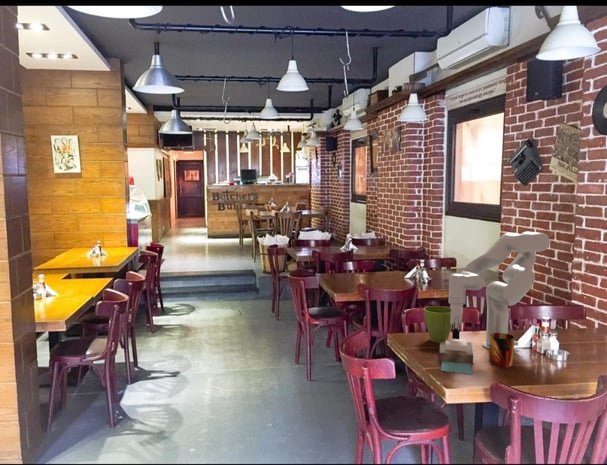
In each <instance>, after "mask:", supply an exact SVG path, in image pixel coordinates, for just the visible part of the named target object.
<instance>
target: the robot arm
mask: <svg viewBox="0 0 607 465" xmlns="http://www.w3.org/2000/svg"><path fill="white" fill-rule="evenodd" d="M550 244H551V240H550V237H549V236H548V235H547V234H546V233H543V232H537V231H536V232H535V231H523V232H521V233H514V232H506V233H505V232H504V234H502V235H501V236H499V238H498V239H497V240H495V242H494V243H493V244H492V245H491V246H490V248H489V249H488V250H487V251H486V252H485V253H484V254H482V255H479V256H478V257H476V258H474V259H473V260H472V261H470V262H469V263H468V264H467V265H466V266H465V267H464V268H463V269H462V270H461V271H460V272H459V273H451V274H450V275H449V280H448V282H449V283H448V304H450V307H449V308H450V325H452V329H451V330H452V333H451V336H452V337H451V339H453V340H460V331H461V330H460V326H462V320H463V319H462V318H463V306H464V305H466V294H467V291H466V290H470V291H478V290H481V289H483V287H484V286H485V278H484V277H483V276H482V275H480V274H481V273H482V272H484V271H486V270H489V269H493V268H496V267H500V266H501V264H502V263H503V262H504V261H505V260H506V259H508V257H509V256H510V254H512V253H513V252H515V253H518V254H517V255H516V257H515V258H514V259H513V260H512V262H511V263H510V264H509V265H508V266H507V267H506V268H505V269H504V271H503V273H502V280H503V281H504V282H503V281H498V280H497V281H492V282H490V283H489V284H487V286H486V288H485V289H486V290H485V297H486V305H487V306H486V308H487V309H486V310H487V311H486V338H485V341H483V342H482V347H484V348H485V349H487V350H490V334H492V333H506V334H509V333H508V332H509V311H510V310H509V306H514V305H517V303H519V302H520V301H521V300H522V298H523V297H524V296H525V295H526V294H527V293H528V292H530V291H529V290H530V289H531V288H532V287H533V286H534V284H535V281H536V274H535V273H534V271H533V270H532V268H533V267H534V265H535V264H536V260H537V259H536V258H537V255H536V254H537V252H538V253H540V252H544V251H546V250H548V248H549V247H550ZM514 346H519V341H516V340H514Z"/></svg>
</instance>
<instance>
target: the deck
mask: <svg viewBox="0 0 607 465" xmlns="http://www.w3.org/2000/svg"><path fill="white" fill-rule="evenodd" d="M447 341H449V340H448V339H447ZM458 342H461V341H459V340H458ZM466 342H467V352H466V351H455V350H446V340H440V343H439V357H438V358H439V360H438V361H439V363H440V362H441V363H442V361H445V362H456V363H466V364H472V365H474V350H473V344H472V342H471V341H470V342H468V341H466ZM472 365H471V366H472Z"/></svg>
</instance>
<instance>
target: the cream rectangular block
mask: <svg viewBox="0 0 607 465" xmlns="http://www.w3.org/2000/svg"><path fill="white" fill-rule="evenodd" d="M447 340H448V339H447ZM447 340H446V350H455V351H466V352H467V342H468V341H460V342H458V341H459V340H458V341H457V340H448V341H447Z"/></svg>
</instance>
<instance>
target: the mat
mask: <svg viewBox="0 0 607 465" xmlns="http://www.w3.org/2000/svg"><path fill="white" fill-rule="evenodd" d="M440 366H441V368H440V372H443V371H445V373H453V372H455V373H454V374H462V373H464V375H473V372H472V365H471V364H466V363H456V362H445V361H442V362H441V365H440Z"/></svg>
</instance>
